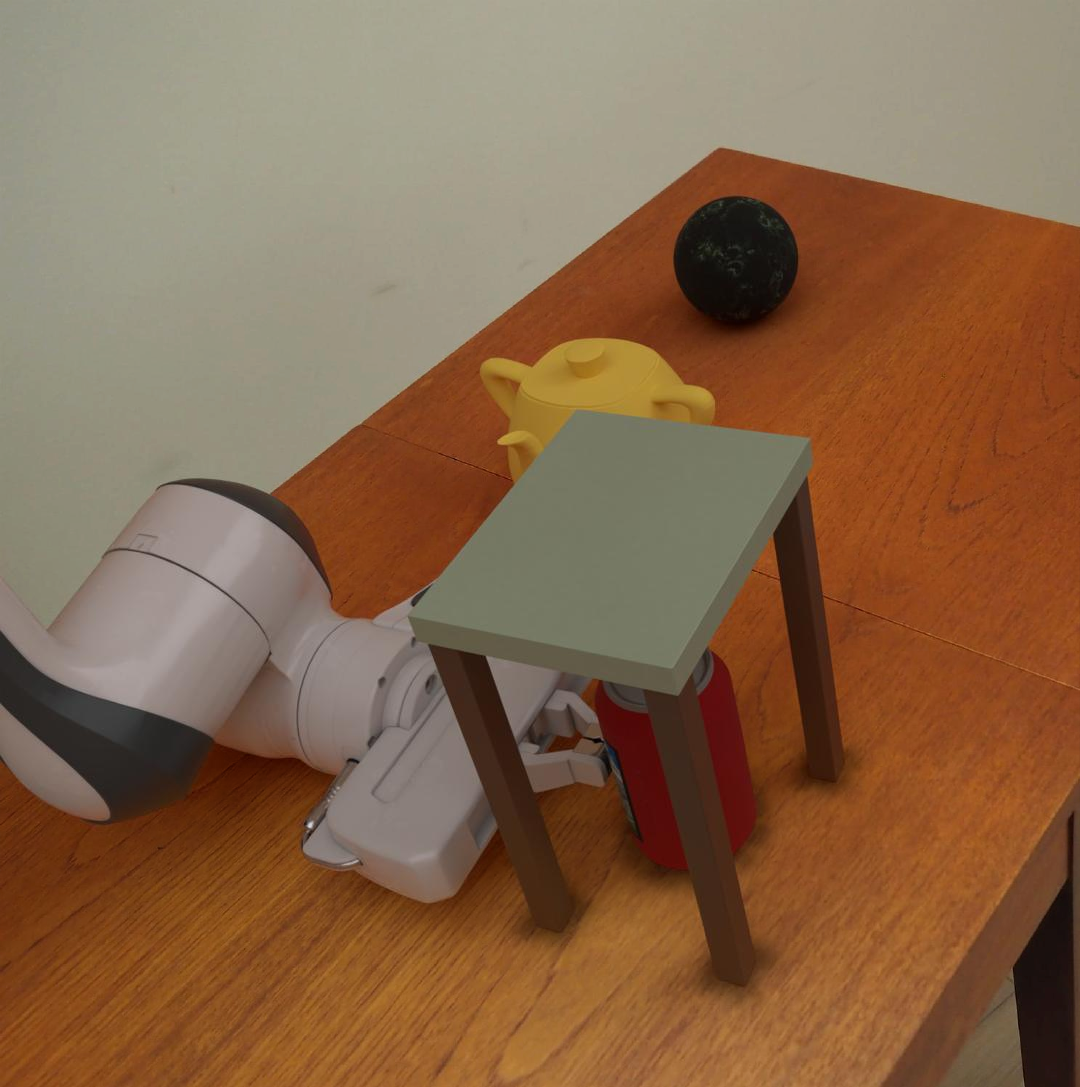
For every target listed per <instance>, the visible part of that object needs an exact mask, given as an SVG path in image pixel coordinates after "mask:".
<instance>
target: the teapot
mask: <svg viewBox="0 0 1080 1087" xmlns="http://www.w3.org/2000/svg"><path fill="white" fill-rule="evenodd" d="M479 375H480V376H479V377H480V378H481V381H482V383H483V386H484V388H485V389H486V391H487V393H488V394H489V396H490V397H491V398H492V400H493V401H494V403H495V404H496V405H497V406H498V408H499V409H500V411H501V412H503V413H504V415H505V416H506V417H507V419H509V424H508V430H507V433H506V434H505V435H503V436H501V437H500V438H499V439H498V440H497V442H496V443H497V445H499V446H505V447H507V459H508V461H507V462H508V468H509V472H510V476H511V480H512V482H513V486H514V485H515V483H516V482H517V481H518V480H519V479H520V477H521V476H522V475H523V474H524V472H525V471H526V470H527V469H528V468H529V466H530V465H531V464H532V463H533V461H534V460H535V459H536V458H537V457H538V455H539V454H540V453H541V452H542V450H543V449H544V448H545V447H546V446H547V444H548V443H549V442H550V441H551V440H552V438H553V437H554V436H555V435H556V433H557V432H558V431H559V430H560V429H561V427H562V426H563V425H564V424H565V422H566V421H567V420H568V419H569V418H570V416H571V415H572V414H573V413H574V412H575V410H576V409H580V410H588V411H596V412H604V413H612V414H620V415H628V416H636V417H644V418H653V419H661V420H669V421H677V422H685V423H693V424H701V425H709V426H713V422H714V419H715V414H716V400H715V398H714V396H713V394H712V393H711V392H710V391H709V390H708V389H706V388H704V387H701V386H698V385H693V384H685V383H684V382H683V380H682V379H681V377H680V376H679V375H678V374H677V372H675V370H674V369H673V368H672V367H671V366H670V364H669V363H668V362H667V361H666V360H665V359H664V358H663V357H662V356H661V355H660V354H659V353H658V352H656V351H655V350H654V349H653V348H651V347H648V346H646V345H644V344H641V343H638V342H634V341H630V340H625V339H619V338H611V337H610V338H609V337H608V338H605V337H592V338H591V337H590V338H589V337H588V338H579V339H573V340H570V341H569V340H568V341H566V342H563V343H560V344H558V345H556V346H554V347H553V348H552V349H550V350H549V351H547V353H546V354H545V355H543V356H542V357H541V358H539V360H538V361H536V363H535V364H534V365H533V366H530V365H528V364H525V363H521V362H519V361H515V360H511V359H508V358H503V357H491V358H488V359H486V360H484V361H483V362H482V364H481V365H480V368H479ZM510 381H512V382H514V383H516V384H519V386H518V390H517V392H516V391H515V389H514V387H513V386H512V384H511V382H510Z"/></svg>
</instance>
